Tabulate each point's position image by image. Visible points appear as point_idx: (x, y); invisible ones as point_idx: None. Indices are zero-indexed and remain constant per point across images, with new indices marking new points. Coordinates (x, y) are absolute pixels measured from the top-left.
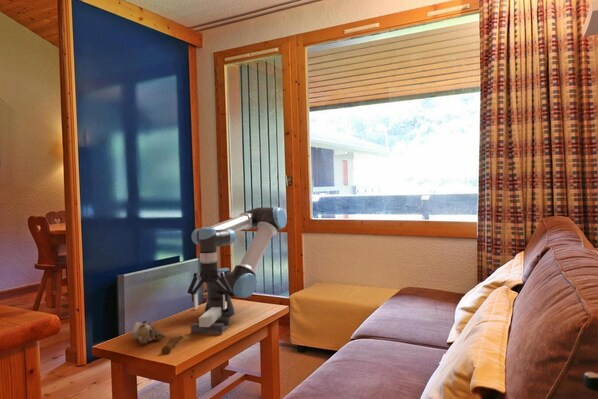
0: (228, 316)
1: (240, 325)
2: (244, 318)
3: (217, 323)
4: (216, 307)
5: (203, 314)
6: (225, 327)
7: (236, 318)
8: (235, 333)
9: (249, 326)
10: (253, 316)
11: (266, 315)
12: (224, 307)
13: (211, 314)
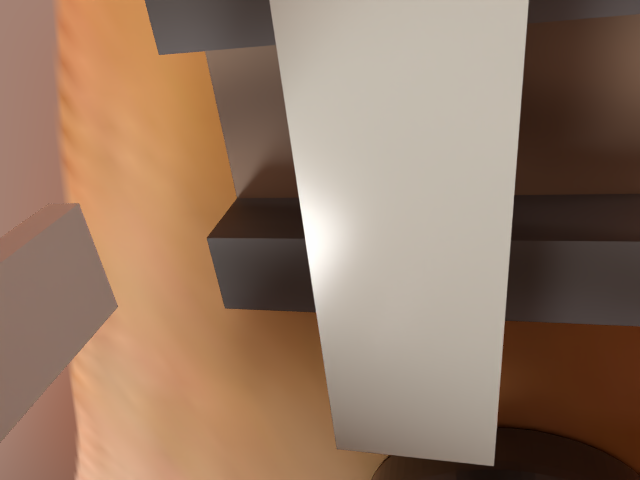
0: (387, 461)
1: (164, 260)
2: (230, 419)
3: (248, 37)
4: (406, 447)
5: (507, 45)
6: (235, 136)
7: (300, 424)
8: (66, 12)
9: None
10: (185, 451)
11: (104, 460)
12: (30, 226)
13: (305, 62)
